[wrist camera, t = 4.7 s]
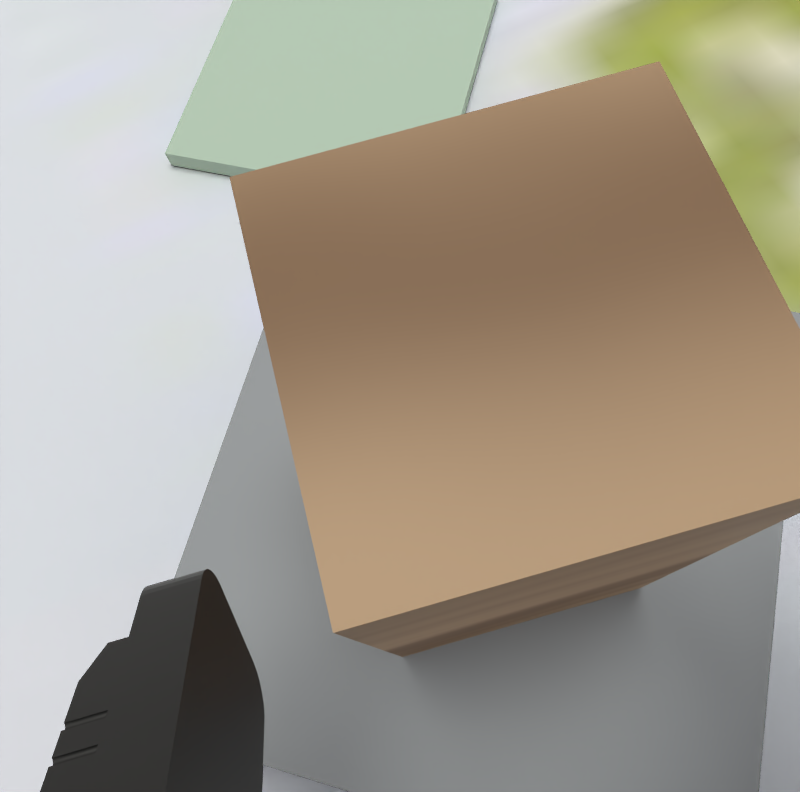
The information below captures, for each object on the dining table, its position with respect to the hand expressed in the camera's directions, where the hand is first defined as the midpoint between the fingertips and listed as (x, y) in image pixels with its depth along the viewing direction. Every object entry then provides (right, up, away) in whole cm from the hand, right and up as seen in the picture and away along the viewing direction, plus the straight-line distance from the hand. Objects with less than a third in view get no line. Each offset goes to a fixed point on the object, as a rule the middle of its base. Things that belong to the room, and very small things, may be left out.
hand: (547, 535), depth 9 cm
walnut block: (0, -1, +7) cm, 7 cm away
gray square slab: (0, -2, +10) cm, 11 cm away
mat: (-4, +12, +16) cm, 21 cm away
